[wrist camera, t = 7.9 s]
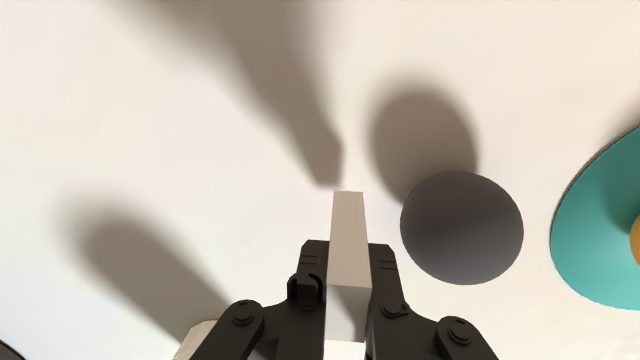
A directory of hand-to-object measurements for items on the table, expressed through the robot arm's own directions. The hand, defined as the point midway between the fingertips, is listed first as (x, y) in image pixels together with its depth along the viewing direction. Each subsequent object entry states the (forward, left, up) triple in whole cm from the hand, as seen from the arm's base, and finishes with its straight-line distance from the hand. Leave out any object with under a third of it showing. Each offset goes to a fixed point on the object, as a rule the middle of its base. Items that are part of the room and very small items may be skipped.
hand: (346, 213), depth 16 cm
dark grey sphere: (+6, 0, +1) cm, 6 cm away
